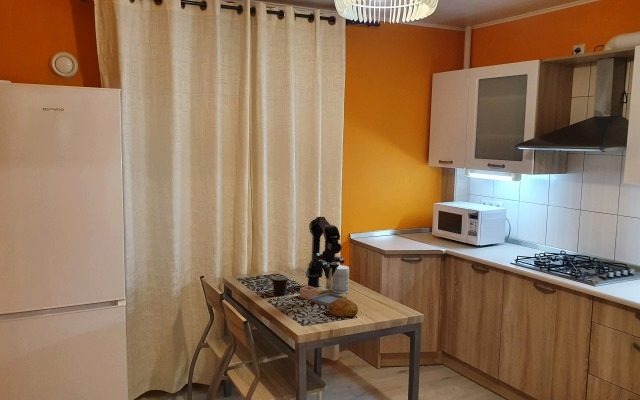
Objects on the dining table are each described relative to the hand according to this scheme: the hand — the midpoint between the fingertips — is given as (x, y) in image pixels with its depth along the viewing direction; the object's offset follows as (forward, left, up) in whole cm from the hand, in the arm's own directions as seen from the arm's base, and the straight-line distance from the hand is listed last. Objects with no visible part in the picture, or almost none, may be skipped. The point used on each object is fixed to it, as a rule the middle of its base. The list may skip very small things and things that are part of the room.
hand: (329, 278), depth 274 cm
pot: (+3, -12, -13) cm, 18 cm away
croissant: (+9, +16, -14) cm, 23 cm away
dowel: (0, 0, -6) cm, 6 cm away
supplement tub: (-19, -7, -13) cm, 24 cm away
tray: (0, 0, -13) cm, 13 cm away
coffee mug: (+10, -27, -13) cm, 32 cm away
